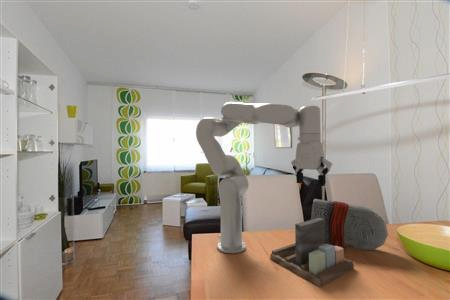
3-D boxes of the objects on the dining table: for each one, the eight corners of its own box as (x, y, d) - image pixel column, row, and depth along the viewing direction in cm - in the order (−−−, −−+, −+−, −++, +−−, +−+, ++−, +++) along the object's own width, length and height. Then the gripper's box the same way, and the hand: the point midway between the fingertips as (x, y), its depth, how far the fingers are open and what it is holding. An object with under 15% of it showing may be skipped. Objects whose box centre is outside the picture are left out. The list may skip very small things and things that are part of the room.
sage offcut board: (309, 276, 77) (308, 253, 77) (317, 272, 80) (317, 249, 80) (316, 280, 75) (316, 256, 75) (325, 276, 77) (325, 252, 77)
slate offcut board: (319, 271, 80) (318, 246, 80) (327, 268, 83) (327, 243, 83) (326, 275, 78) (326, 249, 78) (335, 271, 80) (334, 246, 80)
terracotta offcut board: (328, 267, 83) (328, 248, 83) (336, 264, 86) (335, 245, 86) (336, 271, 81) (336, 251, 81) (343, 267, 83) (343, 248, 83)
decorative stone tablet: (312, 199, 105) (391, 212, 92) (313, 197, 111) (387, 208, 98) (308, 240, 105) (386, 259, 93) (309, 236, 111) (383, 253, 98)
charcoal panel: (295, 267, 83) (295, 224, 83) (319, 257, 91) (319, 217, 91) (301, 270, 81) (300, 225, 81) (325, 260, 89) (324, 219, 89)
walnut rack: (270, 258, 90) (270, 251, 90) (303, 247, 101) (303, 240, 101) (319, 286, 72) (319, 277, 72) (353, 268, 82) (353, 260, 82)
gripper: (285, 140, 91) (285, 182, 91) (324, 137, 77) (324, 188, 77) (298, 140, 95) (298, 181, 95) (337, 138, 81) (337, 186, 81)
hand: (310, 184), depth 86 cm, fingers open, 9 cm apart
